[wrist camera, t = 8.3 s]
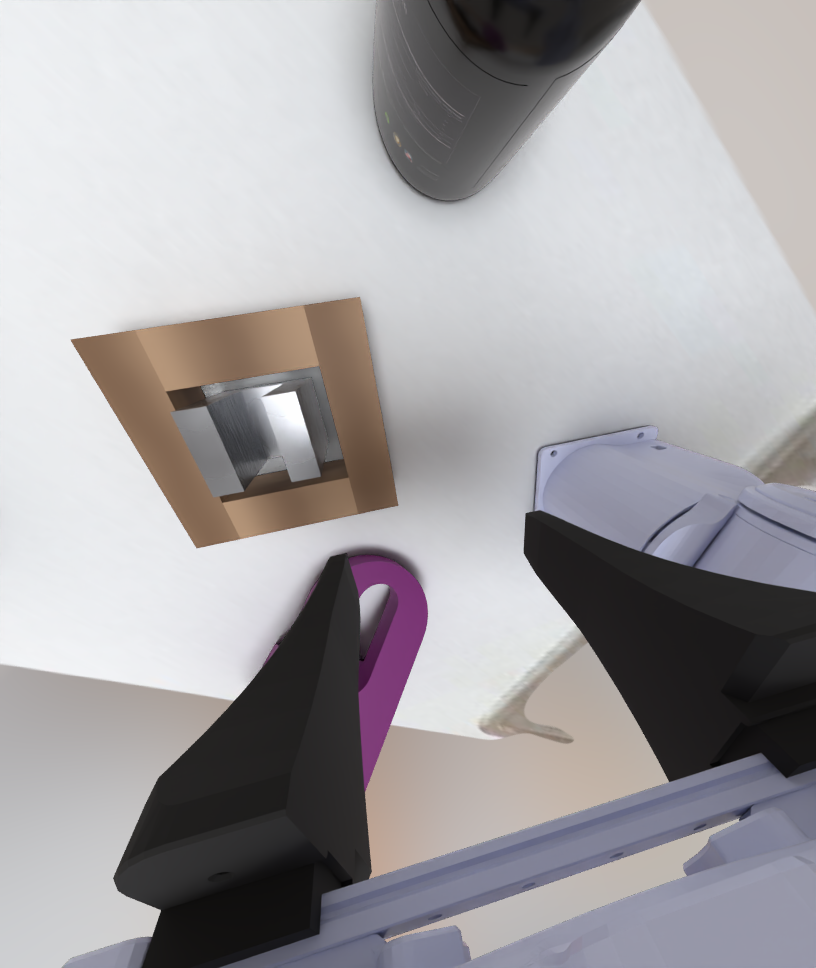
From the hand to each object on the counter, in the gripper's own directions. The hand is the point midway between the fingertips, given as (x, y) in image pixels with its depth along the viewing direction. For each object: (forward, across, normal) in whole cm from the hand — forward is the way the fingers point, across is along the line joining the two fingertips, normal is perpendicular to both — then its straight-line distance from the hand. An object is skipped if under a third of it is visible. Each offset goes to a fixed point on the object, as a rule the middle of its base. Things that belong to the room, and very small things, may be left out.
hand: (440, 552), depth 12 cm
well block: (+10, +7, -4) cm, 13 cm away
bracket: (+10, +7, -4) cm, 13 cm away
